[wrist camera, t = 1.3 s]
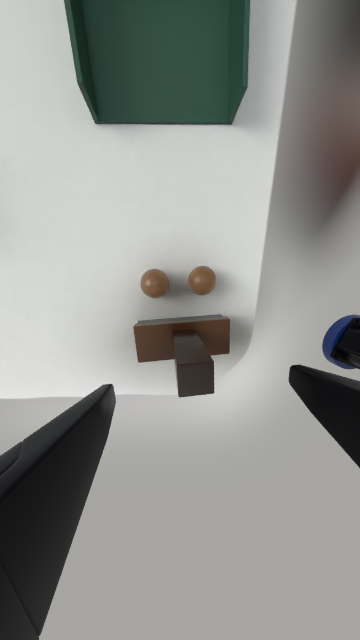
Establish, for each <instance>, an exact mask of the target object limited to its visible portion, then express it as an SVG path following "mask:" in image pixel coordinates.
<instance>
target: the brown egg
mask: <svg viewBox="0 0 360 640" xmlns="http://www.w3.org/2000/svg"><path fill="white" fill-rule="evenodd" d="M141 288H142V290H143V292H144V293H145V294H146V295H147V296H149V297H151V298H160V297H162V296H164V295H165V294H166V293H167V291H168V289H169V279H168V277H167V275H166V274H165V273H164V272H163V271H161V270H158V269H151V270H148V271H147V272H145V273H144V275H143V276H142V278H141Z"/></svg>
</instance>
